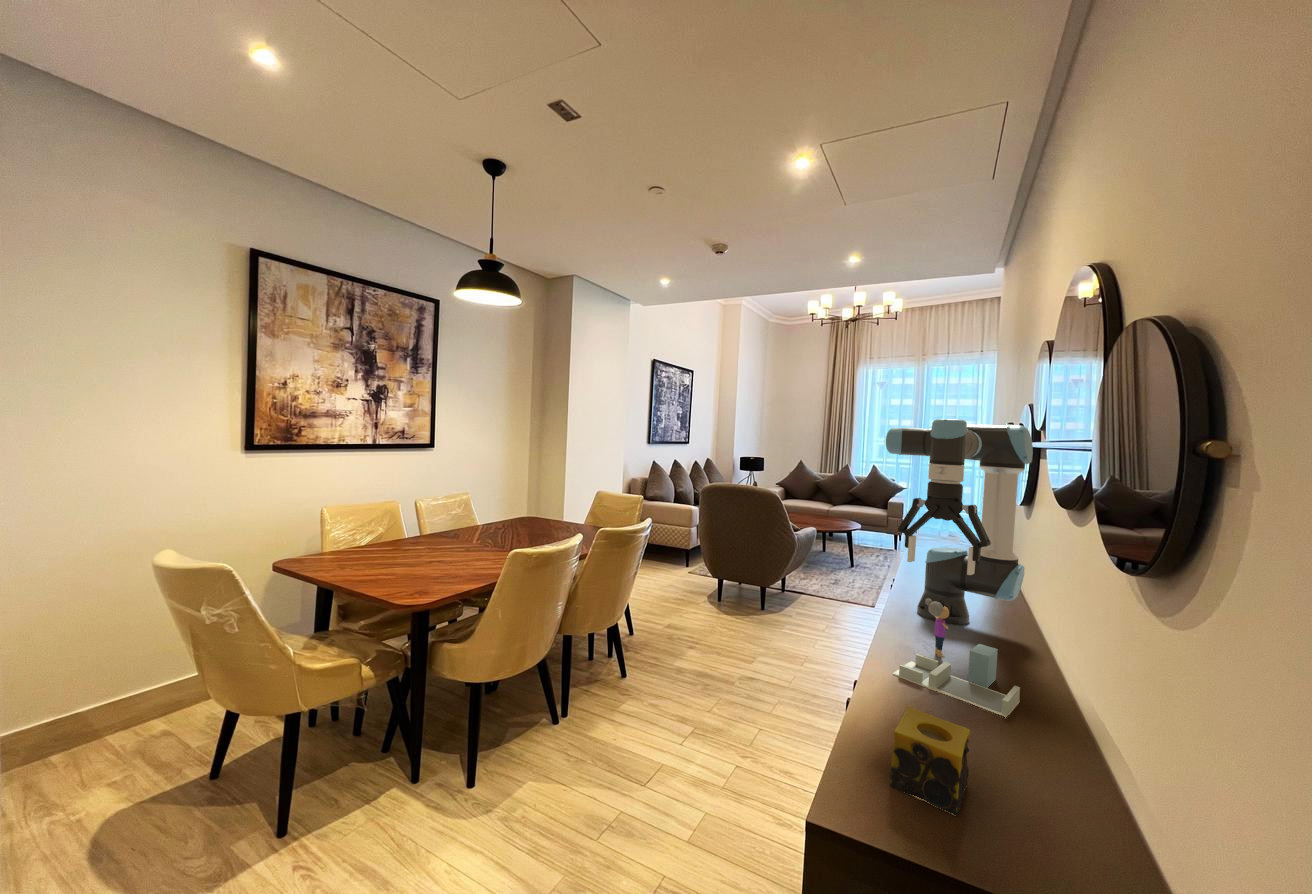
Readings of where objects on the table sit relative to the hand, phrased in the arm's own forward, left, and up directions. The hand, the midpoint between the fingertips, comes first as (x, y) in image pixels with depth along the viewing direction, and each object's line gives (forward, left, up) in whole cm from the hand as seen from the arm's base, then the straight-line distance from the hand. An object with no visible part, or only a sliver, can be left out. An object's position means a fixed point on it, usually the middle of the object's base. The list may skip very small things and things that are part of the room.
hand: (939, 567), depth 124 cm
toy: (-13, -4, -27) cm, 30 cm away
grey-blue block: (-6, +9, -27) cm, 29 cm away
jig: (+4, +6, -27) cm, 28 cm away
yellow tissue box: (+45, +15, -27) cm, 55 cm away
